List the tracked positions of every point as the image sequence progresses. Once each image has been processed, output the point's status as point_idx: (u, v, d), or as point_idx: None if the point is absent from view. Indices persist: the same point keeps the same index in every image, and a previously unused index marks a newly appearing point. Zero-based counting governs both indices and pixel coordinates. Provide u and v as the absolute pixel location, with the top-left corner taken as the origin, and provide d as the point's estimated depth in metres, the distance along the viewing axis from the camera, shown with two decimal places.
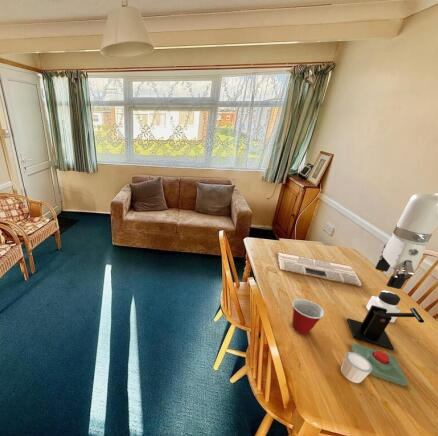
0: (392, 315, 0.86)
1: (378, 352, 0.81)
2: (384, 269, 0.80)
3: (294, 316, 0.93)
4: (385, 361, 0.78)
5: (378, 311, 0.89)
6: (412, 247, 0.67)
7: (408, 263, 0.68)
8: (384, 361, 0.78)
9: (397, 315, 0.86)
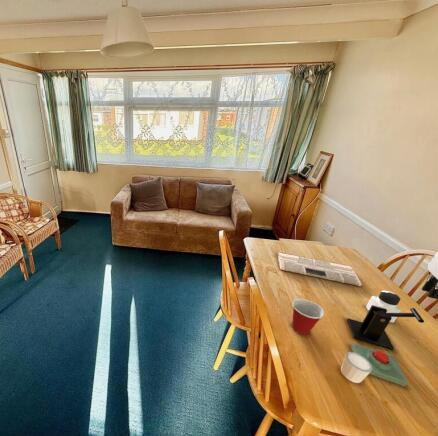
0: (392, 315, 0.86)
1: (378, 352, 0.81)
2: None
3: (294, 316, 0.93)
4: (385, 361, 0.78)
5: (378, 311, 0.89)
6: None
7: None
8: (384, 361, 0.78)
9: (397, 315, 0.86)
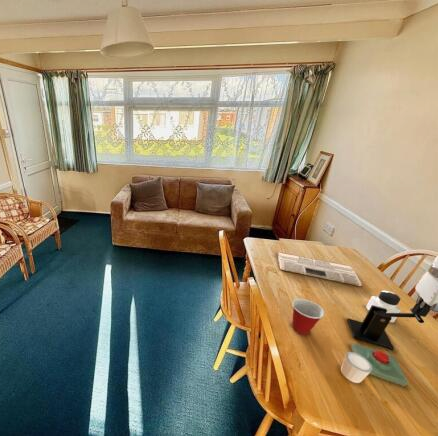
0: (392, 315, 0.86)
1: (378, 352, 0.81)
2: None
3: (294, 316, 0.93)
4: (385, 361, 0.78)
5: (378, 311, 0.89)
6: None
7: None
8: (384, 361, 0.78)
9: (397, 315, 0.86)
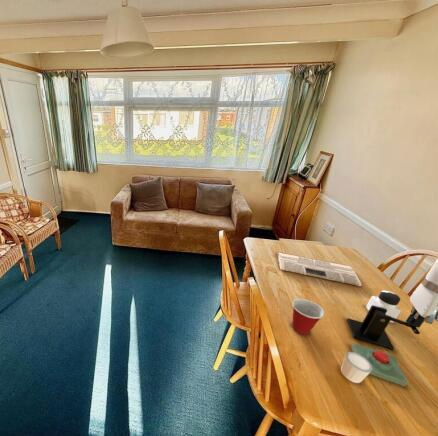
0: (391, 319, 0.87)
1: (378, 352, 0.81)
2: None
3: (294, 316, 0.93)
4: (385, 361, 0.78)
5: (380, 311, 0.88)
6: None
7: (432, 314, 0.77)
8: (384, 361, 0.78)
9: (396, 320, 0.87)
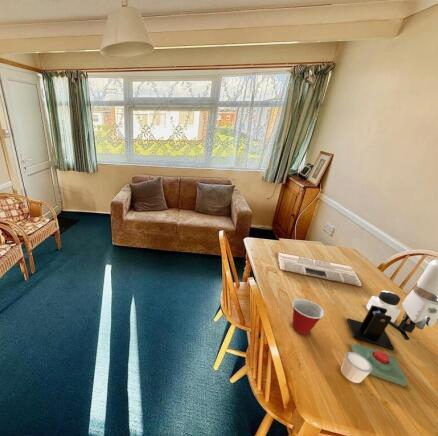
0: None
1: (378, 352, 0.81)
2: None
3: (294, 316, 0.93)
4: (385, 361, 0.78)
5: (382, 312, 0.88)
6: (431, 306, 0.77)
7: (423, 320, 0.79)
8: (384, 361, 0.78)
9: (391, 323, 0.88)
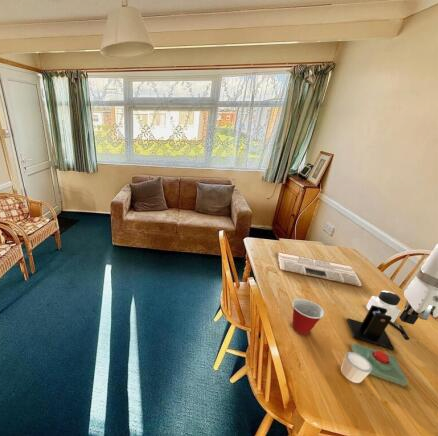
0: None
1: (378, 352, 0.81)
2: None
3: (294, 316, 0.93)
4: (385, 361, 0.78)
5: (382, 312, 0.88)
6: (437, 294, 0.68)
7: (427, 310, 0.71)
8: (384, 361, 0.78)
9: (391, 323, 0.88)
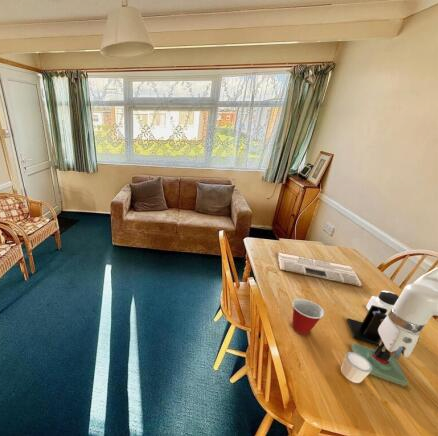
0: None
1: None
2: None
3: (294, 316, 0.93)
4: (384, 363, 0.79)
5: (382, 312, 0.88)
6: (406, 335, 0.70)
7: (398, 350, 0.72)
8: None
9: None
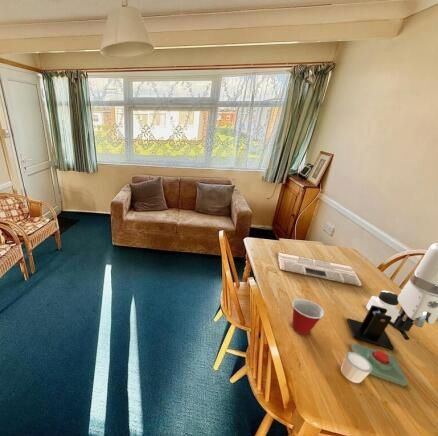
0: None
1: (378, 352, 0.81)
2: None
3: (294, 316, 0.93)
4: (385, 361, 0.78)
5: (382, 312, 0.88)
6: (431, 299, 0.64)
7: (422, 316, 0.66)
8: (384, 361, 0.78)
9: (391, 323, 0.88)
